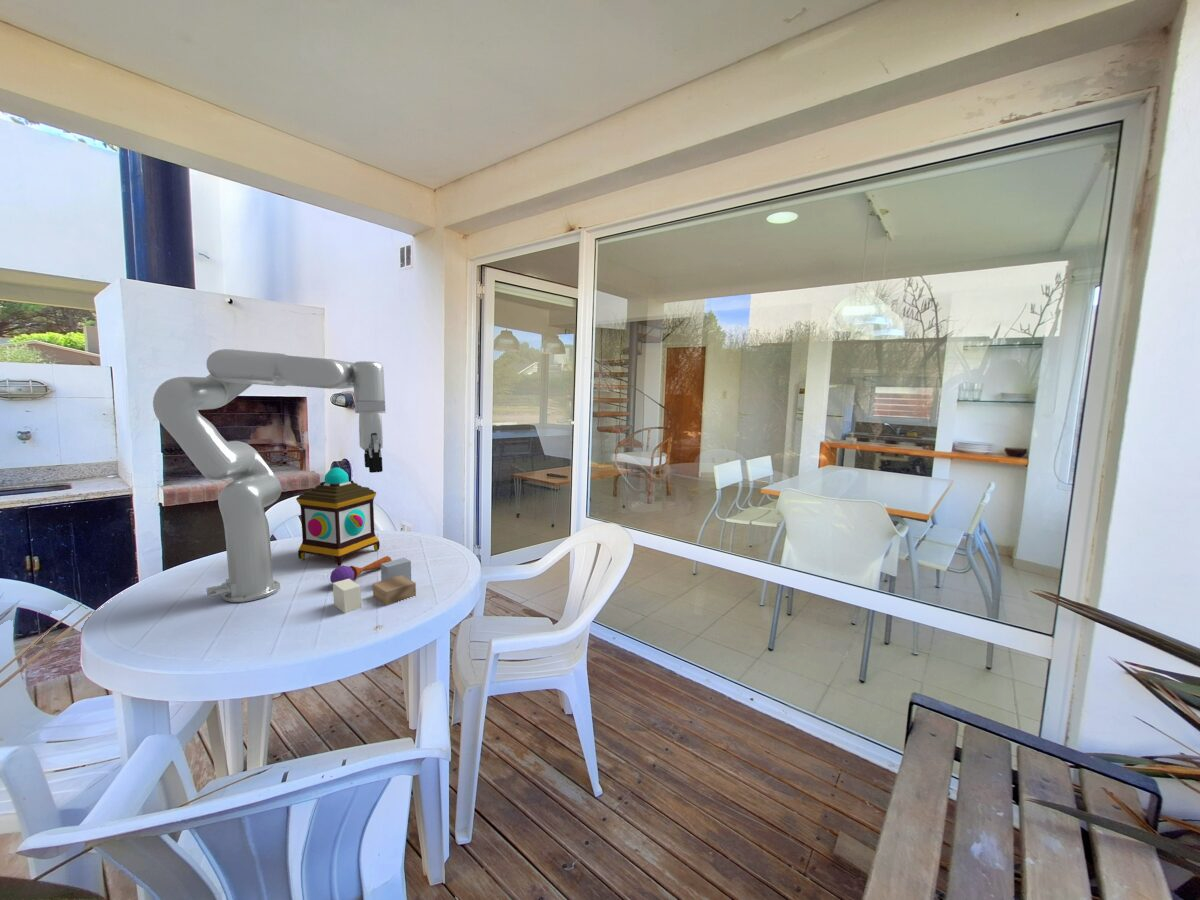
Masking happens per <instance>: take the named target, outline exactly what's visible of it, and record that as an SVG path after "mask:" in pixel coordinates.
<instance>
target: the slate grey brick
mask: <svg viewBox="0 0 1200 900" xmlns="http://www.w3.org/2000/svg"><path fill="white" fill-rule="evenodd" d="M400 575H402V576H404V577H406V578H407V579H409V580H411V581H412V561H411V560H410V559H408V558H406V557H402V558H398V559H393V560H392V561H389V562H386V563H382V564H381V568H380V579H381V581H383V580H386V579H390V578H393V577H397V576H400Z"/></svg>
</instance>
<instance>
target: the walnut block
mask: <svg viewBox="0 0 1200 900" xmlns="http://www.w3.org/2000/svg"><path fill="white" fill-rule="evenodd" d="M416 587H417V586H416V582H414V581H413V580H412V579H411V580H409V579H407V578H406V577H404V576H402V575H400V576H397V577H393V578H390V579H386V580H383V581H380V580H379V581H376V582H373V583H372V595H373V596H372V597H373V598H375V600H378V601H379V602H380V603H382V604H384V605H385V606H390V605H393V604H395V603H399V602H402V601H401V600H403V601H405V600H404V599H406V600H407V598H409V599H411V598H410V597H412V598H414V597H413V596H415V597H417V589H416ZM398 601H399V602H398Z"/></svg>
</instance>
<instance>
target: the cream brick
mask: <svg viewBox="0 0 1200 900" xmlns="http://www.w3.org/2000/svg"><path fill="white" fill-rule="evenodd" d="M361 590H362V589H361V585H360V584H358V583H357V582H356V581H355V580H353V581H352V580H350V579H346V580H342V581H338V582H335V583H333V584H332V594H333V596H332V597H333V605H334V606H335V607H336V608H337V609H339V610H340V611H341V612H343V613H344V614H347V612H348V613H351V612H353V610H354V611H356V609H357V610H359V608H360V609H362V594H361V593H362V591H361ZM350 611H351V612H350Z"/></svg>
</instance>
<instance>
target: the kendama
mask: <svg viewBox="0 0 1200 900" xmlns="http://www.w3.org/2000/svg"><path fill="white" fill-rule="evenodd" d="M389 561H393V560H392V557H390V556H389V555H385V556H384V557H381V558H379V559H378V560H375V561H373V562H370V563H369V564H367V565H364V566H363V567H358V566H354V565H342V564H341V566H337V567H335V568H334V569H333V570H332V571H331V573H330V582H331V584H332V585H333V583H335V582H338V581H342V580H346V579H350V580H352V581H356V579H357V578H358V577H359V576H360V575H361V574H362V572H367V571H373V570H377V569H381V564H382V563H386V562H389Z"/></svg>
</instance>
